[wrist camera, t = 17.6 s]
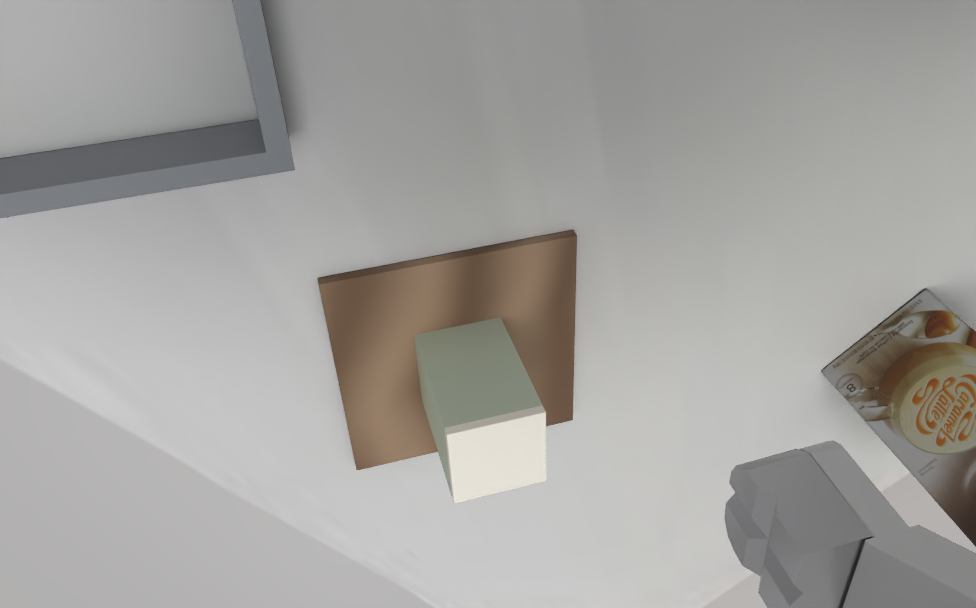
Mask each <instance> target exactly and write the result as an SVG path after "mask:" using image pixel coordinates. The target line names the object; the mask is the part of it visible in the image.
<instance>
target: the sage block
mask: <svg viewBox="0 0 976 608" xmlns="http://www.w3.org/2000/svg"><path fill="white" fill-rule="evenodd" d="M414 339H415V347H416V355H417V363H418V371H419V379H420V387H421V395H422V402H423V405H424V408H425V411H426V414H427V418H428V421H429V424H430V427H431V431H432V434H433V437H434V440H435V443H436V447H437V450H438V453H439V456H440V460H441V463H442V466H443V469H444V472H445V476H446V479H447V482H448V485H449V489H450V492H451V495H452V498H453V501H454V503H457V502H461V501H465V500H470V499H474V498H478V497H482V496H486V495H490V494H494V493H498V492H502V491H506V490H510V489H514V488H518V487H522V486H526V485H530V484H534V483H538V482H542V481H546V411H545V409H544V407H543V405H542V403H541V401H540V399H539V397H538V395H537V393H536V390H535V388H534V386H533V384H532V382H531V380H530V378H529V376H528V374H527V372H526V369H525V367H524V365H523V363H522V361H521V359H520V357H519V355H518V353H517V351H516V349H515V346H514V344H513V342H512V340H511V338H510V336H509V334H508V332H507V330H506V328H505V326H504V323H503V321H502V319H501V317H500V318H495V319H490V320H485V321H480V322H475V323H471V324H466V325H461V326H456V327H451V328H446V329H441V330H437V331H432V332H427V333H422V334H417V335H414Z"/></svg>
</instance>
